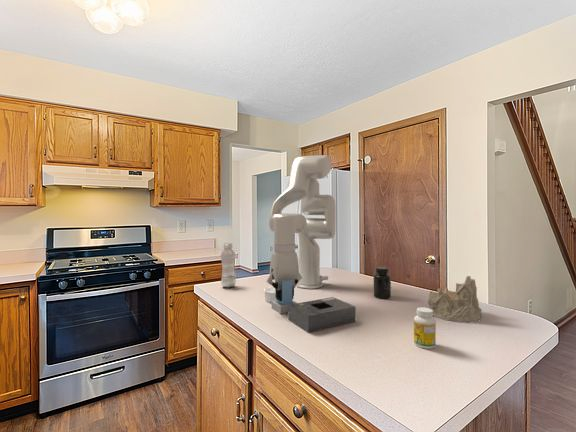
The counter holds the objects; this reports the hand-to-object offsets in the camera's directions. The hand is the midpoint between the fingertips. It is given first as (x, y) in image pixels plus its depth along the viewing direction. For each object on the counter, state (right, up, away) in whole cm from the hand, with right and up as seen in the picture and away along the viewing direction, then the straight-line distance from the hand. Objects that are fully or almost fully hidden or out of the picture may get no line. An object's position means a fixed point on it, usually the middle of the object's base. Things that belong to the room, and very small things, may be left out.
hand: (284, 298), depth 114 cm
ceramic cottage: (+59, -4, -5) cm, 59 cm away
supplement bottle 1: (+40, -3, +15) cm, 43 cm away
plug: (0, -4, 0) cm, 4 cm away
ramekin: (-4, -4, +12) cm, 13 cm away
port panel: (+12, -4, -11) cm, 17 cm away
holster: (0, -4, 0) cm, 4 cm away
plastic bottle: (-26, -3, +31) cm, 41 cm away
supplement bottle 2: (+38, -5, -29) cm, 48 cm away
